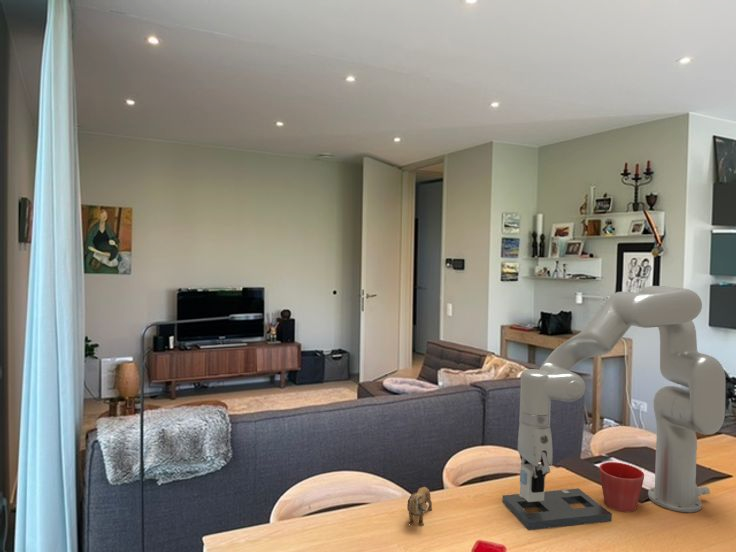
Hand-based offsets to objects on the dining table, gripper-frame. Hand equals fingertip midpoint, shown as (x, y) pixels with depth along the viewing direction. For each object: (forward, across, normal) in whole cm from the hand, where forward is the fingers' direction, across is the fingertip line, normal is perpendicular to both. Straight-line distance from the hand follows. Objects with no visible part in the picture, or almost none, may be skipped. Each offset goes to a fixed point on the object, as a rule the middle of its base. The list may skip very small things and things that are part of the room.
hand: (532, 486), depth 131 cm
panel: (+7, 0, -7) cm, 10 cm away
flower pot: (+7, 0, -26) cm, 27 cm away
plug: (+3, 0, 0) cm, 3 cm away
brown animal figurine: (+8, +3, +29) cm, 30 cm away
